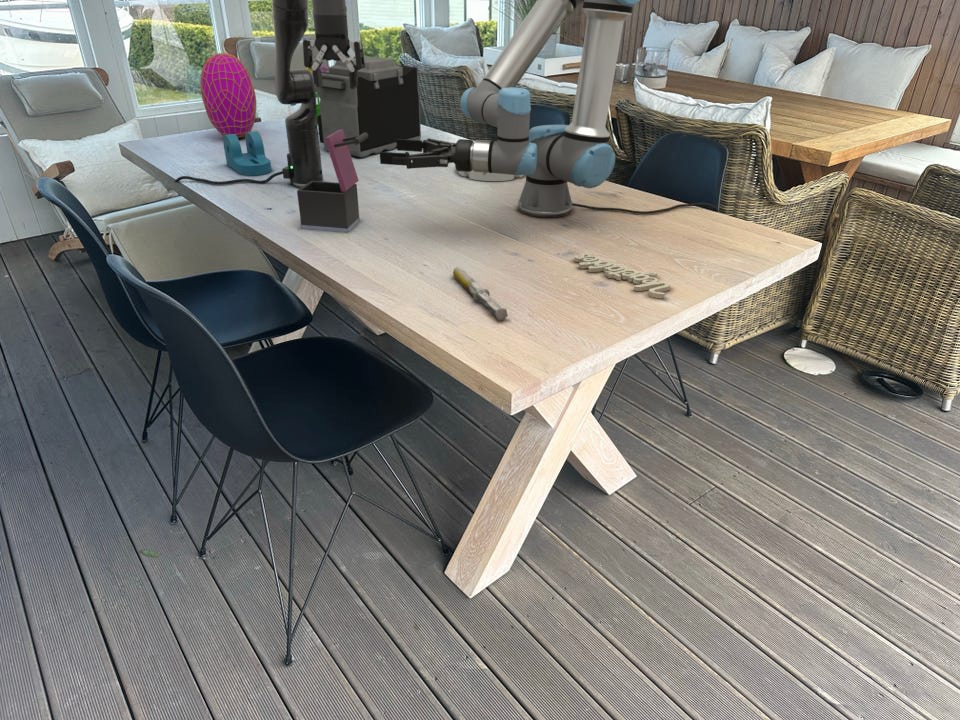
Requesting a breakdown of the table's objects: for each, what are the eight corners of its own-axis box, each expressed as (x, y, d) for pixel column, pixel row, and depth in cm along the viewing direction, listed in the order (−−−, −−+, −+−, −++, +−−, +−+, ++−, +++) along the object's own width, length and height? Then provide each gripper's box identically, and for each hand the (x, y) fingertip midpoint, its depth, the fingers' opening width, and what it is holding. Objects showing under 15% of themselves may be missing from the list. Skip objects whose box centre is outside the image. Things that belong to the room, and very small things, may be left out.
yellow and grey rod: (449, 274, 155) (449, 263, 153) (465, 272, 156) (464, 260, 154) (490, 323, 135) (491, 310, 133) (508, 319, 136) (508, 307, 134)
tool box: (383, 133, 276) (378, 52, 261) (425, 141, 265) (422, 56, 250) (314, 150, 251) (304, 61, 235) (358, 160, 240) (350, 67, 224)
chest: (301, 228, 180) (296, 190, 175) (315, 217, 188) (311, 180, 183) (347, 232, 178) (344, 194, 173) (359, 220, 186) (356, 183, 181)
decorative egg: (226, 145, 255) (211, 58, 240) (200, 137, 266) (184, 53, 251) (271, 137, 268) (259, 54, 252) (244, 129, 279) (231, 49, 263)
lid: (324, 138, 167) (354, 131, 164) (338, 130, 174) (366, 123, 172) (341, 191, 173) (370, 186, 171) (354, 181, 180) (382, 176, 178)
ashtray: (459, 161, 239) (459, 150, 237) (525, 163, 239) (526, 151, 237) (455, 180, 219) (455, 167, 217) (527, 181, 219) (528, 169, 217)
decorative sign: (686, 282, 150) (660, 295, 144) (686, 286, 150) (659, 300, 144) (592, 249, 166) (565, 259, 160) (592, 253, 167) (565, 263, 161)
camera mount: (227, 164, 233) (221, 132, 227) (257, 160, 238) (252, 129, 233) (244, 176, 220) (239, 143, 215) (276, 172, 225) (271, 139, 220)
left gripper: (293, 12, 154) (302, 89, 162) (353, 14, 152) (359, 91, 160) (307, 10, 161) (314, 84, 169) (365, 11, 158) (370, 86, 167)
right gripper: (462, 185, 158) (373, 179, 161) (482, 158, 179) (404, 154, 182) (462, 152, 154) (371, 147, 157) (482, 129, 175) (402, 124, 178)
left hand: (336, 87), depth 165 cm, fingers open, 8 cm apart
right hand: (388, 151), depth 170 cm, fingers open, 13 cm apart
